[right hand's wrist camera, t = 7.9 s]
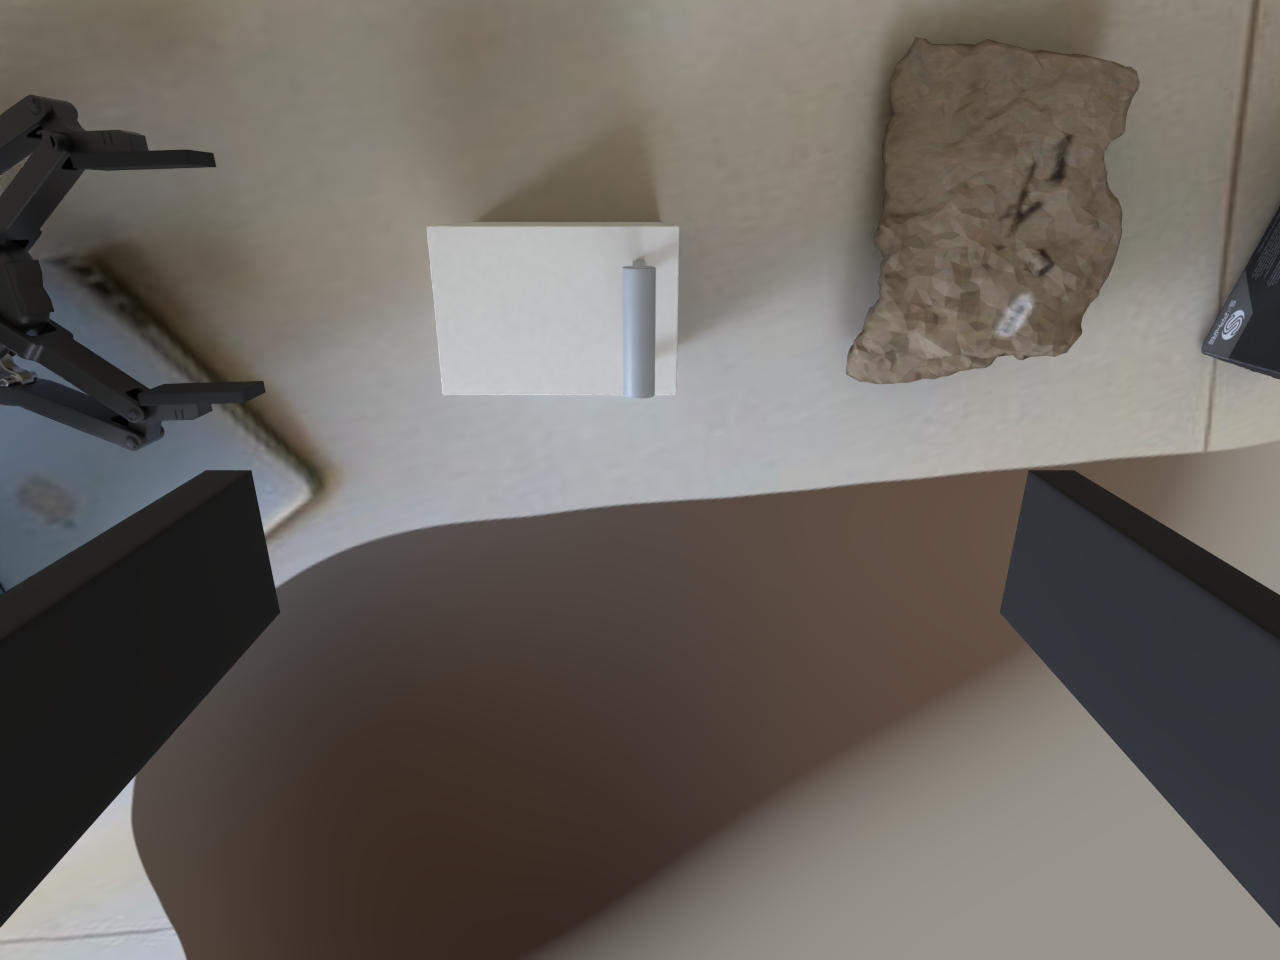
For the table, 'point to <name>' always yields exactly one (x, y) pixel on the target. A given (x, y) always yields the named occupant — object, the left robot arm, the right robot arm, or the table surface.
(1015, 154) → the stone
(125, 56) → the table surface
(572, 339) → the lid
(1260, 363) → the graphics card box
